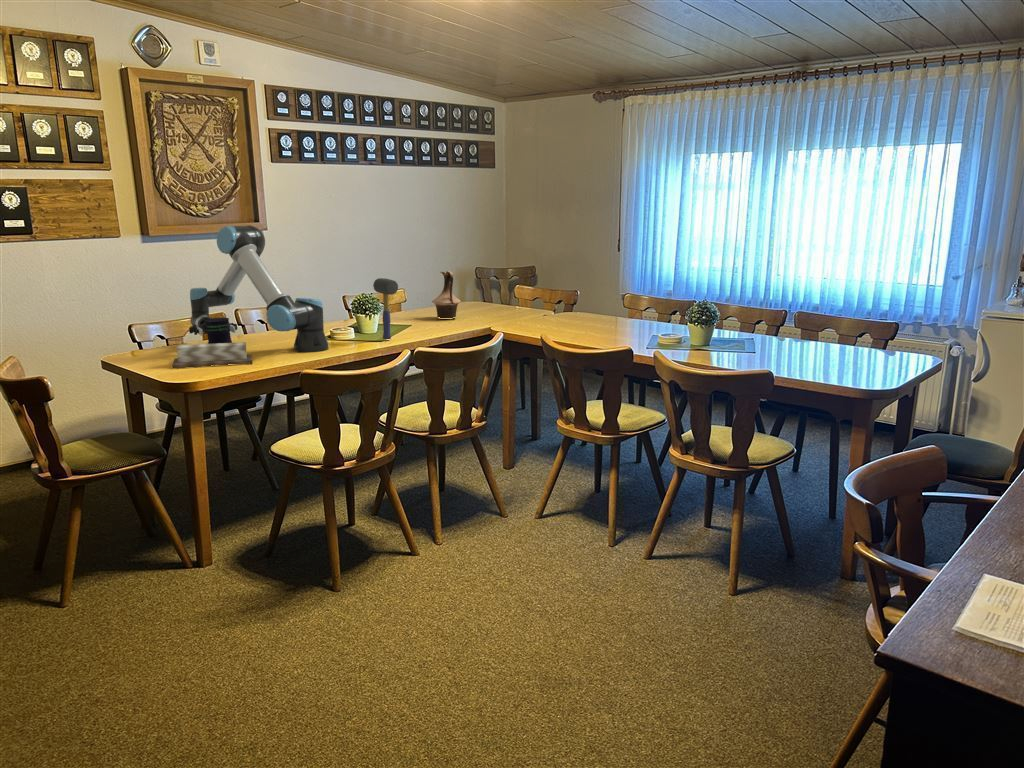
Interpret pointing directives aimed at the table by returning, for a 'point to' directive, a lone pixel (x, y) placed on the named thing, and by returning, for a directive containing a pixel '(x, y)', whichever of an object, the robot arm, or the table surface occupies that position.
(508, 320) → the table surface
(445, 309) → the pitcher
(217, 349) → the ridge stand
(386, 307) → the rubber mallet
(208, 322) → the storage jar
